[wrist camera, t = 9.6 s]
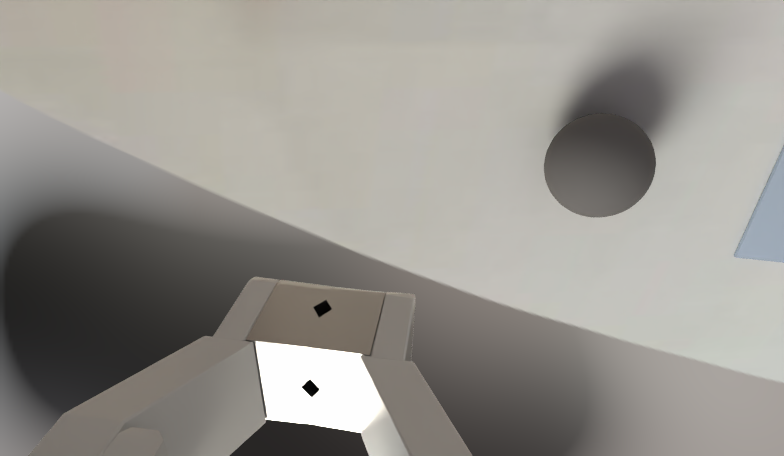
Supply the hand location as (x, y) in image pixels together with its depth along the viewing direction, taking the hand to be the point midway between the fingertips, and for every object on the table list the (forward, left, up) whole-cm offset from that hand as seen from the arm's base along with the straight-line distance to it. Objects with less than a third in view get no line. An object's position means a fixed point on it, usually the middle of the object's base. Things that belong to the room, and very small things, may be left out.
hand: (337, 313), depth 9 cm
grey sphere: (+4, +10, -19) cm, 22 cm away
